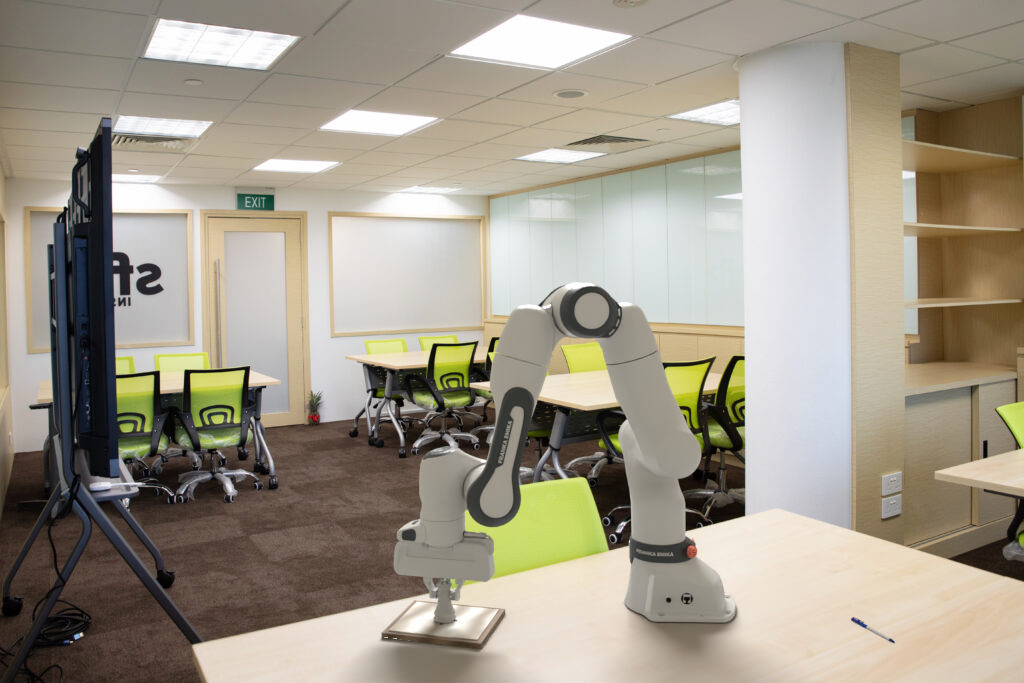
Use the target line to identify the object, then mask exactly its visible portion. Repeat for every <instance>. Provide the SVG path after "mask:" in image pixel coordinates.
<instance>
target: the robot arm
mask: <svg viewBox="0 0 1024 683" xmlns="http://www.w3.org/2000/svg"><path fill="white" fill-rule="evenodd" d="M564 338H571V339H594V340H596V341H597V343H598V345H599V347H600V348H601V350H602V356H603V358H604V363H605V366H606V370H607V373H608V376H609V380H610V383H611V387H612V389H613V393H614V397H615V399H616V402H617V403H618V405H619V406H620V408H621V410H622V411H623V413H624V416H625V417H626V419H625V420H624V422H622V423H621V425H620V427H619V430H618V436H617V438H618V443H619V447H620V449H621V451H622V452H621V453H622V455H623V462H624V468H625V474H626V479H627V485H628V489H629V497H630V514H631V515H630V517H631V518H630V519H631V521H630V522H631V523H630V524H631V525H630V526H631V533H630V536H629V541H628V557H629V562H630V568H629V569H630V571H629V580H628V584H627V590H626V593H625V597H624V604H625V606H626V607H627V608H629V609H630V610H631V611H633V612H635V613H638V614H641V615H643V616H644V617H645V618H647V619H648V620H649V621H651V622H655V623H656V622H657V623H658V622H659V623H660V622H661V623H663V622H665V623H667V622H668V623H672V622H673V623H677V622H678V623H727V622H730V621H732V619H734V617H735V616H736V614H737V613H736V612H737V609H736V601H735V600H734V598H733V596H732V595H731V594H730V593H728V592H726V591H725V588H724V584H723V581H722V578H721V576H720V575H719V573H718V572H717V570H715V569H714V568H712V567H711V566H709V564H707V563H706V562H705V561H703V560H702V559H701V558H700V557H698V548H697V546H696V545H697V544H696V542H695V539H694V537H692V539H691V538H690V537H688V536H687V535H686V501H685V497H684V494H683V492H682V489H681V487H680V483H679V480H680V479H684V478H687V477H689V476H691V475H692V474H693V473H694V472H695V471H696V470H697V468H698V467H699V465H700V463H701V459H702V449H701V444H700V442H699V440H698V439H697V438H696V436H695V435H694V433H693V432H692V430H691V429H690V427H689V425H688V423H687V421H686V419H685V416H684V413H683V411H682V410H681V408H680V406H679V403H678V402H677V400H676V398H675V396H674V393H673V392H672V389H671V387H670V384H669V381H668V378H667V375H666V371H665V368H664V365H663V360H662V357H661V354H660V350H659V347H658V344H657V340H656V336H655V335H654V332H653V330H652V328H651V325H650V323H649V320H648V319H647V316H646V315H645V313H644V310H642V307H640V306H639V305H637V304H635V303H632V302H624V301H623V302H617V300H616V299H615V298H613V297H612V295H610V293H609V292H607V290H605V289H604V288H603V287H601V286H600V285H598V284H595V283H591V282H570V283H568V284H564V285H560V286H558V287H556V288H555V289H553V290H552V291H551V292H549V294H548V295H547V296H546V297H544V299H543V300H541V302H540V303H539V304H537V305H535V304H522V305H519V306H517V307H515V308H514V309H513V310H512V311H511V312H510V315H509V316H508V318H507V320H506V322H505V324H504V326H503V328H502V331H501V334H500V336H499V338H498V342H497V345H496V349H495V351H494V355H493V359H492V362H491V368H490V377H489V389H490V392H491V396H492V399H493V402H494V408H495V422H494V423H495V424H494V429H493V434H492V437H491V442H490V446H489V450H488V454H487V458H486V459H483V458H479V457H476V456H474V455H470V454H469V453H466V452H465V451H464V450H462V449H461V448H459V447H458V446H452V445H450V446H448V445H446V446H440V447H436V448H434V449H431V450H430V451H427V452H426V453H425V454H424V455H423V457H422V459H421V461H420V466H419V475H418V477H419V478H418V480H419V481H418V483H419V484H418V490H419V492H418V494H419V498H420V502H421V507H420V513H419V518H418V519H414V520H411V521H409V522H407V523H406V524H404V525H403V526H402V527H401V528H400V529H399V530H397V532H396V539H397V540H398V541H397V542H396V543H395V547H394V552H393V569H394V572H395V573H396V574H397V576H398V575H400V576H408V577H409V576H411V577H422V578H423V579H422V580H423V583H424V585H425V587H426V588H427V590H428V595H429V599H433V600H434V599H435V600H438V593H437V592H438V588H437V587H436V584H434V581H433V579H434V578H435V579H439V578H440V579H442V578H444V580H446V579H450V580H454V581H455V582H454V584H455V585H457V586H456V588H453V589H452V590H451V592H450V597H451V598H450V599H451V601H452V602H453V601H455V602H458V601H460V599H461V590H462V588H463V587H464V584H465V583H466V581H472V582H481V583H487V582H489V581H490V580H491V579H492V578H493V577H494V575H495V572H496V567H495V559H494V551H495V543H494V539H493V537H491V536H490V535H489V534H487V532H483V531H482V532H481V531H480V532H475V531H469V530H467V531H466V511H468V513H469V515H470V517H471V519H473V521H475V522H476V523H477V524H479V525H480V526H483V527H486V528H498V527H499V528H500V527H502V526H505V525H507V524H508V523H510V522H511V521H512V520H513V519H514V518H515V517H516V516H517V514H518V513H519V511H520V508H521V502H522V493H521V486H520V478H519V477H520V471H521V465H522V464H521V463H522V460H523V456H524V451H525V447H526V445H527V439H528V435H529V432H530V426H531V422H532V418H533V415H534V412H535V409H536V406H537V402H538V401H539V398H540V395H541V393H542V389H543V388H544V387H543V386H544V384H545V381H546V377H547V374H548V371H549V367H550V363H551V360H552V354H553V352H554V351H555V348H556V346H557V345H558V344H559V342H560V341H561V340H563V339H564Z"/></svg>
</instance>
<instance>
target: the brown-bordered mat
mask: <svg viewBox="0 0 1024 683" xmlns="http://www.w3.org/2000/svg"><path fill="white" fill-rule="evenodd" d="M437 604H438V601H437V602H435V601H426V600H425V601H424V600H416V599H415V600H413V601H412V602H411V603H410V604H409V605H408V606H407V607H406V608H405V609H404V610H403V611H402V612H401V613H400V614H399V615H398V616H397V617H396V618H395V619H394V620H393V621H392V622H391V623H390V624H389V625H388V626H387V627H386V628H385V629H384V630H383V631H381V638H382V637H388V638H397V639H402V640H401V641H405V640H410V641H409V642H414V641H418V642H417V643H423V642H426V643H425V644H432V643H433V644H435V645H441V644H442V646H443V645H444V646H452V647H459V648H460V647H461V648H469V649H470V648H471V649H478V650H481V649H483V647H484V646H485V644H486V643H487V641H488V640H489V638H490V637H491V635H492V634H493V632H494V631H495V630H496V628H497V627H498V625H499V623H500V622H501V621H502V619H503V618H504V616H505V615H506V608H501V607H500V608H499V607H489V606H478V605H469V604H468V605H467V604H455V603H452V605H453V608H454V609H455V611H456V613H455V615H456V618H455V619H454V621H452V622H450V623H445V624H444V623H438V622H436V621H435V620H434V616H435V615H434V611H435V609H436V606H437Z"/></svg>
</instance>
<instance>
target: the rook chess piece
mask: <svg viewBox="0 0 1024 683" xmlns="http://www.w3.org/2000/svg"><path fill="white" fill-rule="evenodd" d="M452 585H453V582H452V581H451V579H445V578H437V582H436V584H435V587H437V588H438V592H437V593H438V598H437V603H438V604H437V606H436V609H435V611H434V615H435V616H434V620H435V621H436V622H438V623H444V624H445V623H450V622H452V621H454V619H455V618H456V615H455V613H456V611H455V609H454V608H453V605H452V604H453V603H452V600H451V599H450V598H451V596H450V592H451V591H452V590H451V587H452Z"/></svg>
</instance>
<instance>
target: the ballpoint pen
mask: <svg viewBox="0 0 1024 683" xmlns="http://www.w3.org/2000/svg"><path fill="white" fill-rule="evenodd" d="M850 620H851V622H853V623H855V624H856V625H859V626H860V627H862V628H864V629H866V630H868V631H870V632H871V633H873V634H875V635H877V636H880V637H881V638H883V639H885V640H887V641H888V642H891V643H895V640H893V638H892V637H889V636H887V635H886V634H884V633H882V632H880V631H878V630H876V629H875V628H873V627H871V626H869V625H868V624H866V623H865V622H864V621H863V620H861V619H859V618H857V617H854V616H852V617H851V618H850Z"/></svg>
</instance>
